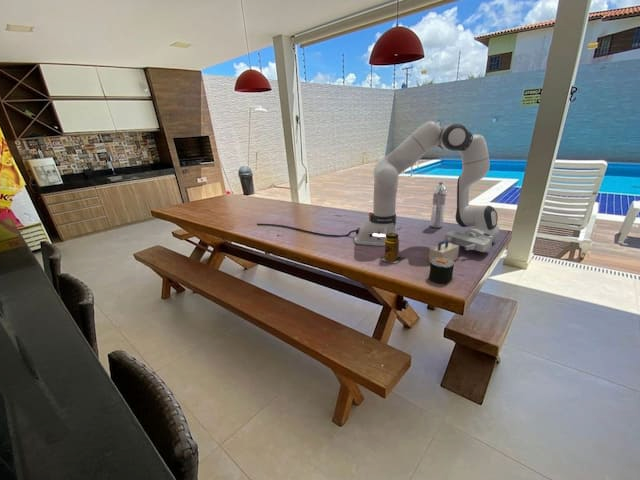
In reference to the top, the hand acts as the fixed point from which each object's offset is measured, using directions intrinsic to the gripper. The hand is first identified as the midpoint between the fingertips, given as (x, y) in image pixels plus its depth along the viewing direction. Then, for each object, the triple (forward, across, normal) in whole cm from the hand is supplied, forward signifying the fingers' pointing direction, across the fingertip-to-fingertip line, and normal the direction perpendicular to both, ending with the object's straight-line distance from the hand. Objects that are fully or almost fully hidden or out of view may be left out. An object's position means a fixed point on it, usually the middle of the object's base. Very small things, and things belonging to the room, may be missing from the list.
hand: (456, 245), depth 137 cm
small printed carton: (+8, 0, +5) cm, 10 cm away
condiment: (+24, -16, +5) cm, 29 cm away
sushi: (+23, +10, +5) cm, 26 cm away
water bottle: (-27, -31, +5) cm, 41 cm away
